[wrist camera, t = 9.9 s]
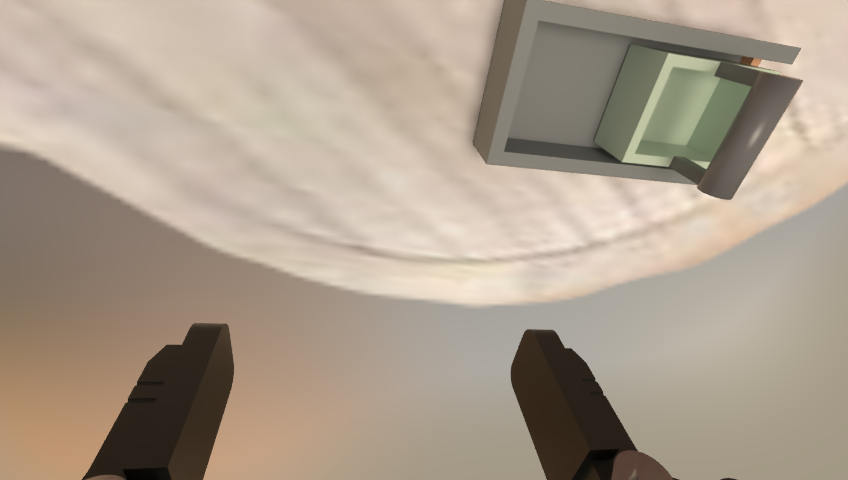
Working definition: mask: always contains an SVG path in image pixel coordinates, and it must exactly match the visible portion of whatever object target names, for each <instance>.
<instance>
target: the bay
mask: <svg viewBox="0 0 848 480" xmlns="http://www.w3.org/2000/svg"><path fill="white" fill-rule="evenodd" d="M630 44H636V45H641V46H647V47H653V48H659V49H665V50H671V51H677V52H683V53H689V54H695V55H700V56H706V57H712V58H718V59H724V60H730V61H735V62H739V63H743V64H748V65H752V66H757V67H758V65H759V64H760V62H761V60H762V59H763V60H769V61H775V62H781V63H786V64H793V62H794V60H795V58H796V57H797V55H798V53H799V52H800V50H801V48H798V47H792V46H787V45H782V44H776V43H771V42H765V41H760V40H754V39H749V38H743V37H738V36H733V35H727V34H722V33H716V32H711V31H705V30H700V29H695V28H689V27H684V26H678V25H673V24H667V23H662V22H656V21H651V20H646V19H640V18H635V17H629V16H624V15H618V14H613V13H607V12H602V11H597V10H591V9H586V8H580V7H575V6H569V5H564V4H558V3H553V2H548V1H542V0H504V5H503V9H502V14H501V18H500V23H499V28H498V32H497V37H496V41H495V46H494V50H493V55H492V59H491V64H490V68H489V73H488V77H487V82H486V86H485V91H484V95H483V100H482V104H481V109H480V113H479V118H478V122H477V127H476V131H475V136H474V140H473V145H474V146H475V148H476V149H477V151H478V152H479V154H480V155H481V157H482V158H483V160H484V161H485V163H486V164H490V165H500V166H510V167H520V168H530V169H541V170H551V171H561V172H571V173H581V174H591V175H601V176H611V177H621V178H631V179H641V180H652V181H662V182H672V183H682V184H692V185H697V184H695V183H694V182H692V181H691V180H689V179H687V178H686V177H684V176H683V175H681V174H679V173H678V172H676V171H674V170H673V169H671V168H670V167H664V166H655V165H646V164H636V163H627V162H621V161H620V160H619V159H617V158H616V157H614V156H613V155H612V154H610V153H609V152H607V151H606V150H605V149H603V148H602V147H600V146H599V145H597V144H596V143H595V142H594V139H595V137H596V134H597V131H598V129H599V126H600V123H601V121H602V118H603V115H604V113H605V110H606V108H607V105H608V102H609V100H610V97H611V94H612V92H613V89H614V87H615V84H616V81H617V79H618V76H619V73H620V71H621V68H622V65H623V63H624V60H625V58H626V55H627V52H628V50H629V47H630Z"/></svg>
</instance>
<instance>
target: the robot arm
mask: <svg viewBox="0 0 848 480" xmlns="http://www.w3.org/2000/svg"><path fill="white" fill-rule="evenodd" d="M233 375H234V363H233V355H232V348H231V340H230V333H229V327H228V325H227V324H215V323H211V324H210V323H194V324H193V325H192V326H191V328H190V329H189V331H188V333H187V336H186V338H185V340H184V342H183V344H182V345H166V346H165V347H164V348H163V349H162V350H161V351H159V352H158V353H157V354H156V355H155V356H154V357H153V358H152V359H151V360H149V361H148V363H147V365H146V367H145V368H144V370H143V372H142V374H141V376H140V377H139V379H138V381H137V385H136V386H135V387H134V388H133V390H132V392H131V394H130V396H129V398H128V402H127V403H125V405H124V407H123V408H122V410H121V412H120V414H119V416H118V418H117V420H116V421H115V423H114V425H113V427H112V429H111V431H110V432H109V434H108V436H107V438H106V440H105V441H104V443H103V445H102V447H101V449H100V451H99V452H98V454H97V456H96V458H95V460H94V461H93V463H92V465H91V467H90V469H89V470H88V472H87V473H86V475H85V476H84V477H83V479H82V480H203V478H204V474H205V471H206V468H207V465H208V462H209V458H210V455H211V452H212V449H213V445H214V442H215V439H216V436H217V433H218V429H219V426H220V423H221V420H222V416H223V413H224V410H225V407H226V404H227V400H228V397H229V394H230V390H231V387H232V382H233ZM511 382H512V386H513V389H514V392H515V395H516V397H517V400H518V402H519V405H520V408H521V411H522V413H523V416H524V419H525V422H526V424H527V427H528V430H529V432H530V435H531V438H532V440H533V443H534V446H535V449H536V451H537V454H538V457H539V459H540V462H541V465H542V468H543V470H544V473H545V476H546V478H547V480H678V479H675V478H672V477H671V475H670V474H669V473H668V471H667V470H666V469H665V468H664V467H663V466H662V465H661V464H659V462H657V461H656V460H655V459H653V458H652V457H650V456H648V455H646V454H644V453H641V452H638V451H637V449H636V447H635V446H634V444H633V442H632V441H631V439H630V437H629V436H628V434H627V432H626V431H625V429H624V427H623V425H622V424H621V422H620V420H619V419H618V417H617V415H616V413H615V412H614V410H613V408H612V407H611V405H610V403H609V401H608V400H607V398H606V396H604V395H603V391H602V389H601V388H600V386H599V384H598V383H597V382H596V381H595V377H594V375H593V374H592V372H591V370H590V369H589V367H588V365H587V363H586V362H585V361H584V360H583V359H582V358H581V357H580V356H578V354H576V353H575V352H574V351H573V350H572V349H570V348H569V349H568V348H564V346H563V344H562V342H561V340H560V338H559V336H558V335H557V333H556V332H555V331H554V330H533V329H529V330H526V331H525V332H524V334H523V337H522V339H521V342H520V345H519V347H518V350H517V352H516V355H515V358H514V360H513V363H512V366H511ZM721 480H736V479H731V478H725V479H721Z"/></svg>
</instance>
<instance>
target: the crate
mask: <svg viewBox="0 0 848 480" xmlns="http://www.w3.org/2000/svg"><path fill="white" fill-rule="evenodd" d="M780 73H781V72H778V71H774V70H770V69H765V68H761V67H757V66H752V65H748V64H743V63H739V62H735V61H730V60H724V59H718V58H712V57H706V56H700V55H695V54H689V53H683V52H677V51H671V50H665V49H659V48H653V47H647V46H641V45H636V44H630V47H629V50H628V52H627V55H626V58H625V60H624V63H623V65H622V68H621V71H620V73H619V76H618V79H617V81H616V84H615V87H614V89H613V92H612V94H611V97H610V100H609V102H608V105H607V108H606V110H605V113H604V115H603V118H602V121H601V123H600V126H599V129H598V131H597V134H596V137H595V139H594V142H595V143H596V144H597V145H599V146H600V147H602V148H603V149H605V150H606V151H607V152H609V153H610V154H612V155H613V156H614V157H616V158H617V159H619V160H620V161H621V162H627V163H636V164H646V165H655V166H664V167H670V168H671V169H673V170H674V171H676V172H678V173H679V174H681V175H683V176H684V177H686V178H687V179H689V180H691V181H692V182H694V183H695V184H697V185H698V186H697V188H698V189H699V190H700V191H702V192H703V193H706V194H708V195H710V196H713V197H716V198H720V199H726V200H730V199H732V198H733V196H734V194H735V193H736V191H737V189H738V188H739V186H740V184H741V183H742V181H743V179H744V178H745V176H746V175H747V173H748V171H749V170H750V168H751V166H752V165H753V163H754V161H755V160H756V158H757V156H758V155H759V153H760V151H761V150H762V148H763V147H764V145H765V143H766V142H767V140H768V138H769V137H770V135H771V133H772V132H773V130H774V128H775V127H776V125H777V123H778V122H779V120H780V119H781V117H782V115H783V114H784V112H785V110H786V109H787V107H788V105H789V104H790V102H791V100H792V99H793V97H794V95H795V94H796V92H797V90H798V89H799V87H800V86H801V84H802V82H803V80H800V79H796V78H792V77H787V76H782V75H779V74H780Z"/></svg>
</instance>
